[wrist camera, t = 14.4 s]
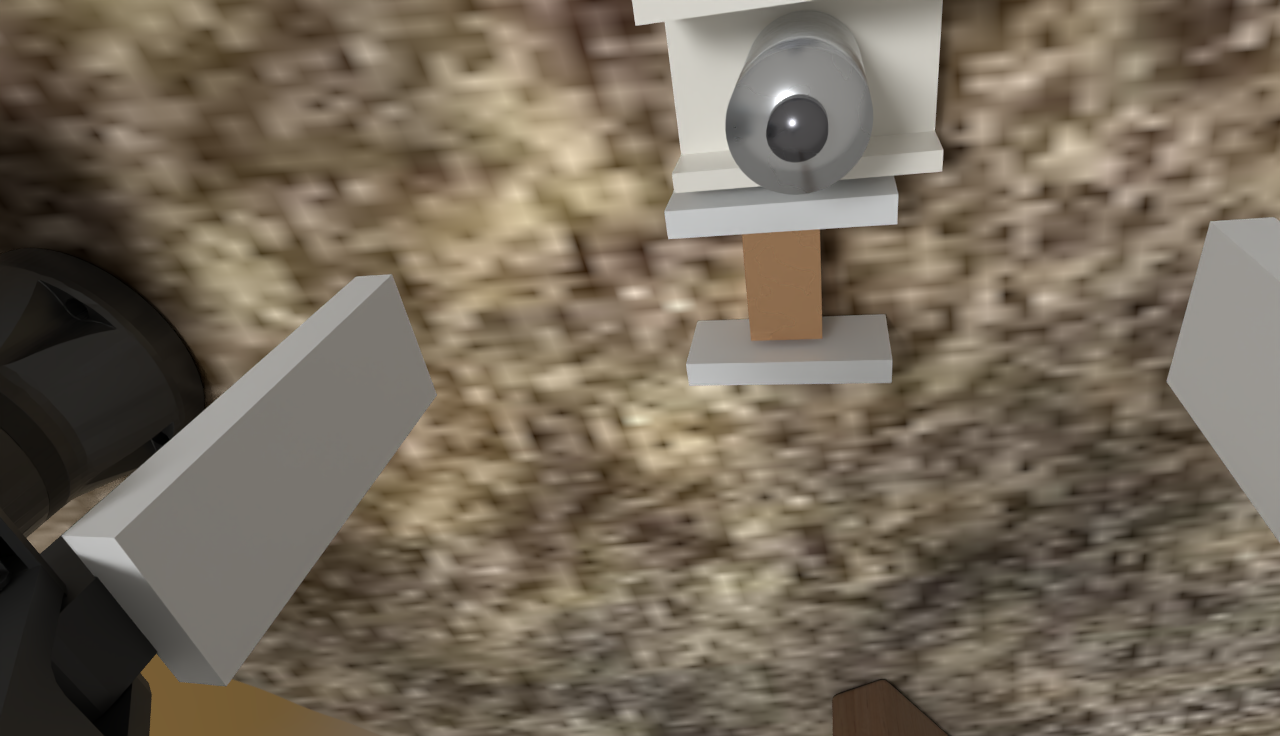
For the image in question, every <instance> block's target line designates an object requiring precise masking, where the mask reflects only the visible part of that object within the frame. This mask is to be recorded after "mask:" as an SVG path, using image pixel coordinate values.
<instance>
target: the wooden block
mask: <svg viewBox="0 0 1280 736" xmlns="http://www.w3.org/2000/svg"><path fill="white" fill-rule="evenodd" d="M832 710H833V736H948V735H947V734H946V733H945V732H944V731H943V730H942V729H940V728H939V727H938V726H937V725H936V724H935V723H934V722H933V721H931V720H930V719H929V718H928V717H927V716H926V715H925V714H924V713H922V712H921V711H920V710H919V709H918V708H917V707H916V706H914V705H913V704H912V703H911V702H910V701H909V700H908V699H907V698H905V697H904V696H903V695H902V694H901V693H900V692H899V691H898V690H896V689H895V688H894V687H893V686H892V685H891V684H890V683H889V682H887V681H886V680H878V681H875V682H873V683H870V684H867V685H864V686H861V687H858V688H855V689H852V690H849V691H846V692H844V693H841V694H838V695H835V696H834V697H833V700H832Z"/></svg>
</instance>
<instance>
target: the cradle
mask: <svg viewBox="0 0 1280 736" xmlns="http://www.w3.org/2000/svg"><path fill="white" fill-rule="evenodd" d="M664 213H665V220H666V227H667V234H668V239H677V238H692V237H707V236H723V235H738V234H753V233H769V232H784V231H800V230H815V229H830V228H846V227H861V226H876V225H892V224H897V218H898V191H897V187H896V183H895V179H894V175H893V176H881V177H868V178H856V179H844V180H839V181H837V182H836V183H834V184H832V185H830V186H829V187H827V188H824V189H822V190H819V191H816V192H812V193H807V194H799V195H794V194H782V193H777V192H774V191H771V190H768V189H766V188H763V187H761V186H757V187H745V188H733V189H720V190H708V191H696V192H683V193H675V192H673V194H672V196H671V198H670V200H669V203H668V205H667V207H666V209H665V211H664ZM686 367H687V374H688V381H689V386H695V385H770V384H845V383H892V354H891V347H890V341H889V334H888V328H887V321H886V315H885V314H877V315H849V316H822V339H799V340H764V341H751V336H750V324H749V319H738V320H710V321H698V322H697V326H696V329H695V333H694V337H693V341H692V344H691V348H690V352H689V355H688V359H687V363H686Z"/></svg>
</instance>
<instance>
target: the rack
mask: <svg viewBox="0 0 1280 736" xmlns="http://www.w3.org/2000/svg"><path fill="white" fill-rule="evenodd" d="M632 4H633V11H634V18H635V25H643V24H651V23H658V22H665V28H666V36H667V44H668V52H669V60H670V68H671V76H672V84H673V92H674V100H675V108H676V116H677V124H678V132H679V140H680V148H681V156H680V158H679V160H678V163H677V165H676V167H675V169H674V171H673V173H672V177H673V185H674V192H675V193H683V192H696V191H708V190H720V189H733V188H745V187H757V186H760V185H758V184H756V183H755V182H753V181H752V180H751V179H750V178H748V177H747V176H746V175H745V174H744V173H743V172H742V171H741V169H740V168H739V167H738V165H737V164H736V162H735V160H734V159H733V157H732V155H731V152H730V150H729V147H728V143H727V139H726V131H725V120H726V112H727V108H728V104H729V101H730V98H731V96H732V93H733V91H734V88H735V86H736V83H737V81H738V78H739V76H740V73H741V71H742V68H743V65H744V63H745V60H746V58H747V55H748V53H749V50H750V48H751V46H752V44H753V42H754V41H755V39H756V38H757V36H758V35H759V33H760V32H761V31H762V30H763V29H764V28H765V27H766V26H767V25H768V24H770V23H771V22H772V21H774V20H775V19H777V18H778V17H780V16H783V15H785V14H787V13H790V12H793V11H799V10H817V11H821V12H825V13H828V14H830V15H832V16H834V17H836V18H837V19H839V20H840V21H841V22H843V23H844V24H845V25H846V26H847V27H848V28H849V30H850V31H851V32H852V34H853V35H854V37H855V39H856V41H857V43H858V46H859V49H860V53H861V57H862V61H863V66H864V70H865V74H866V78H867V83H868V87H869V91H870V95H871V100H872V106H873V127H872V132H871V136H870V140H869V142H868V145H867V147H866V150H865V151H864V153H863V155H862V157H861V158H860V160H859V161H858V163H857V164H856V165H855V166H854V167H853V169H852V170H851V171H850V172H849V173H848V174H846V175H845V176H844V177H843V178H842V179H840V180H844V179H856V178H868V177H881V176H893V175H906V174H918V173H930V172H942V165H943V148H942V145H941V143H940V141H939V139H938V137H937V134H936V132H935V120H936V104H937V87H938V71H939V54H940V38H941V21H942V5H943V0H632Z"/></svg>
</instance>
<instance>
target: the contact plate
mask: <svg viewBox="0 0 1280 736" xmlns="http://www.w3.org/2000/svg"><path fill="white" fill-rule="evenodd" d="M742 241H743V253H744V265H745V277H746V289H747V300H748V312H749V324H750V336H751V341H764V340H799V339H822V283H821V240H820V229H815V230H800V231H784V232H769V233H753V234H742Z"/></svg>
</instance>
